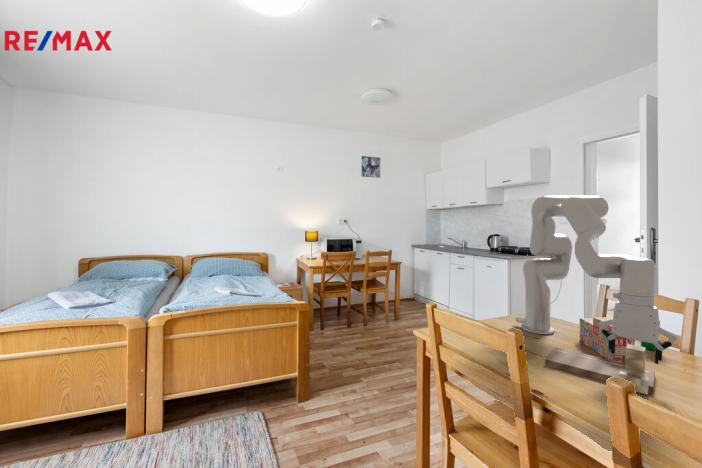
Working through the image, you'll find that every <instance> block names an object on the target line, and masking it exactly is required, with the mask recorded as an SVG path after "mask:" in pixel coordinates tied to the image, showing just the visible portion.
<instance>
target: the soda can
mask: <svg viewBox="0 0 702 468" xmlns="http://www.w3.org/2000/svg"><path fill="white" fill-rule="evenodd" d="M659 327H660V328H661V320H659ZM660 336H661V335H660V333H659V341H660ZM660 342H661V341H660ZM640 346H641V347H646V348H645V351H650V352H655V348H656V346H655V345H654V344H653V343H647V342H642V341H640Z"/></svg>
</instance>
